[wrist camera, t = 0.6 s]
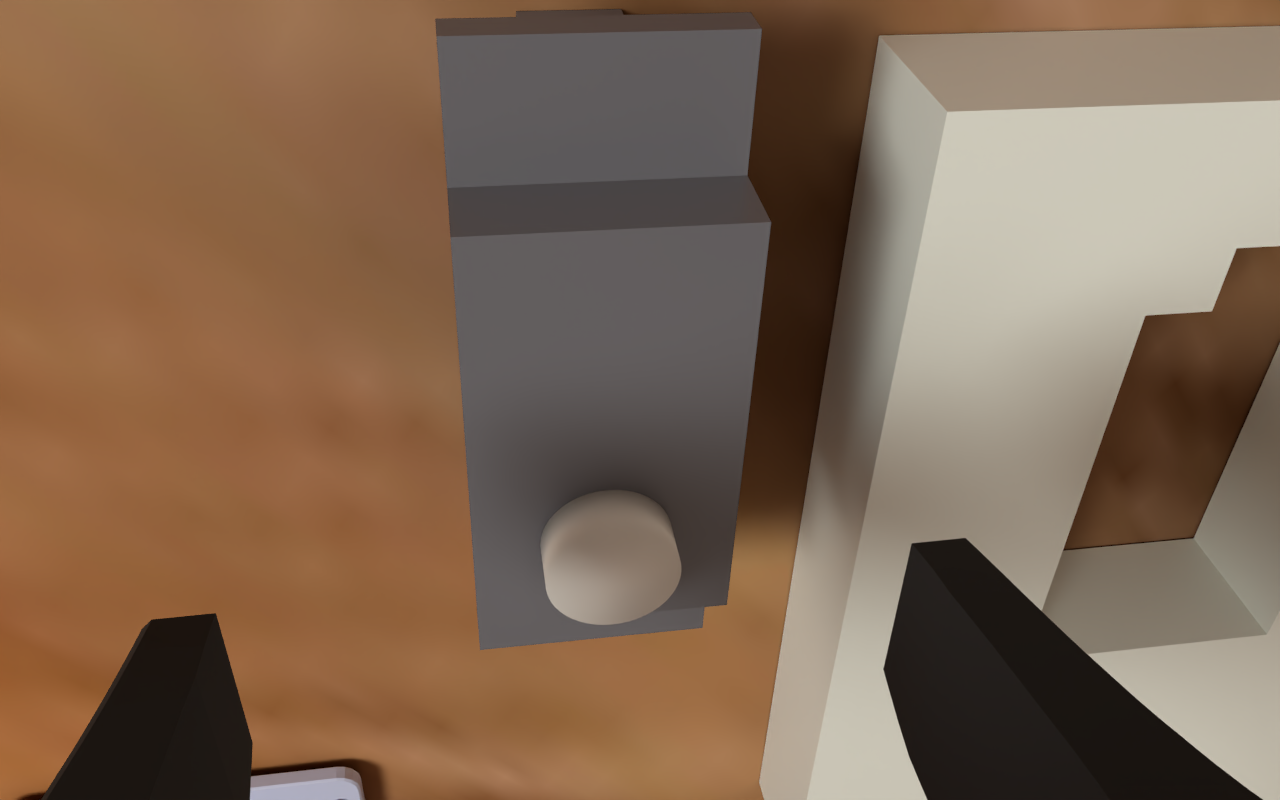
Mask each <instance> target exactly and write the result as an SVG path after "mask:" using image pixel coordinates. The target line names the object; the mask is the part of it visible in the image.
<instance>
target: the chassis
mask: <svg viewBox="0 0 1280 800" xmlns="http://www.w3.org/2000/svg"><path fill="white" fill-rule="evenodd" d="M1269 246H1280V26H1254V27H1212V28H1170V29H1128V30H1087V31H1045V32H1003V33H961V34H919V35H879V40H878V46H877V52H876V58H875V65H874V71H873V77H872V83H871V89H870V96H869V102H868V108H867V114H866V121H865V127H864V133H863V139H862V145H861V152H860V158H859V164H858V170H857V177H856V183H855V189H854V195H853V201H852V208H851V214H850V220H849V226H848V233H847V239H846V245H845V251H844V258H843V264H842V270H841V276H840V282H839V289H838V295H837V301H836V307H835V314H834V320H833V326H832V332H831V338H830V345H829V351H828V357H827V363H826V370H825V376H824V382H823V388H822V395H821V401H820V407H819V413H818V419H817V426H816V432H815V438H814V444H813V451H812V457H811V463H810V469H809V475H808V482H807V488H806V494H805V500H804V507H803V513H802V519H801V525H800V531H799V538H798V544H797V550H796V556H795V563H794V569H793V575H792V581H791V588H790V594H789V600H788V606H787V612H786V619H785V625H784V631H783V637H782V644H781V650H780V656H779V662H778V668H777V675H776V681H775V687H774V693H773V700H772V706H771V712H770V718H769V724H768V731H767V737H766V743H765V749H764V756H763V762H762V768H761V774H760V781H759V783H760V787H761V791H762V794H763V798H764V800H927V798H926V796H925V793H924V791H923V789H922V786H921V784H920V782H919V779H918V777H917V775H916V772H915V770H914V767H913V765H912V763H911V760H910V758H909V755H908V752H907V749H906V745H905V742H904V739H903V736H902V732H901V729H900V726H899V723H898V720H897V716H896V713H895V709H894V706H893V702H892V699H891V695H890V692H889V688H888V685H887V681H886V677H885V674H884V670H883V668H884V664H885V659H886V655H887V651H888V646H889V642H890V637H891V633H892V628H893V624H894V620H895V615H896V611H897V606H898V602H899V597H900V593H901V588H902V584H903V580H904V575H905V571H906V566H907V562H908V557H909V553H910V548H911V544H912V543H920V542H930V541H939V540H949V539H959V538H966V539H967V540H968V541H969V542H970V543H971V544H973V545H974V546H975V547H976V548H977V549H978V550H979V551H980V552H981V553H982V554H983V555H984V556H985V557H986V558H987V559H988V560H989V561H990V562H991V563H992V564H993V565H994V566H995V567H997V568H998V569H999V570H1000V571H1001V572H1002V573H1003V574H1004V575H1005V576H1006V577H1007V578H1008V579H1009V580H1010V581H1011V582H1012V583H1013V584H1014V585H1015V586H1016V587H1017V588H1018V589H1019V590H1020V591H1021V592H1022V593H1023V594H1024V595H1025V596H1026V597H1028V598H1029V599H1030V600H1031V601H1032V602H1033V603H1034V604H1035V605H1036V606H1037V607H1038V608H1039V609H1040V610H1041V611H1042V612H1043V613H1044V614H1045V615H1046V616H1047V617H1048V618H1049V619H1050V620H1051V621H1053V622H1054V623H1055V624H1056V625H1057V626H1058V627H1059V628H1060V629H1061V630H1062V631H1063V632H1064V633H1065V634H1066V635H1067V636H1068V637H1069V638H1070V639H1071V640H1073V641H1074V642H1075V643H1076V644H1077V645H1078V646H1079V647H1080V648H1081V649H1082V650H1083V651H1084V652H1085V653H1086V654H1088V655H1089V656H1090V657H1091V658H1092V659H1093V660H1094V661H1095V662H1096V663H1098V664H1099V665H1100V666H1101V667H1102V668H1103V669H1104V670H1105V671H1106V672H1108V673H1109V674H1110V675H1111V676H1112V677H1113V678H1114V679H1115V680H1116V681H1117V682H1119V683H1120V684H1121V685H1122V686H1123V687H1124V688H1125V689H1126V690H1127V691H1129V692H1130V693H1131V694H1132V695H1133V696H1134V697H1135V698H1136V699H1138V700H1139V701H1140V702H1141V703H1142V704H1143V705H1144V706H1146V707H1147V708H1148V709H1149V710H1150V711H1151V712H1153V713H1154V714H1155V715H1156V716H1157V717H1158V718H1160V719H1161V720H1162V721H1163V722H1165V723H1166V724H1167V725H1168V726H1169V727H1171V728H1172V729H1173V730H1174V731H1175V732H1177V733H1178V734H1179V735H1180V736H1182V737H1183V738H1184V739H1185V740H1186V741H1188V742H1189V743H1190V744H1191V745H1193V746H1194V747H1195V748H1196V749H1197V750H1199V751H1200V752H1201V753H1202V754H1204V755H1205V756H1206V757H1207V758H1208V759H1210V760H1211V761H1212V762H1214V763H1215V764H1216V765H1217V766H1219V767H1220V768H1221V769H1223V770H1224V771H1225V772H1226V773H1228V774H1229V775H1230V776H1232V777H1233V778H1234V779H1236V780H1237V781H1238V782H1239V783H1241V784H1242V785H1243V786H1245V787H1246V788H1248V789H1249V790H1250V791H1252V792H1253V793H1254V794H1256V795H1257V796H1259V797H1260V798H1261V799H1263V800H1280V344H1279V346H1278V348H1277V351H1276V353H1275V355H1274V357H1273V360H1272V362H1271V364H1270V367H1269V369H1268V371H1267V373H1266V376H1265V378H1264V380H1263V382H1262V385H1261V387H1260V389H1259V391H1258V394H1257V396H1256V398H1255V401H1254V403H1253V405H1252V407H1251V410H1250V412H1249V414H1248V416H1247V419H1246V421H1245V423H1244V425H1243V428H1242V430H1241V432H1240V435H1239V437H1238V439H1237V441H1236V444H1235V446H1234V448H1233V450H1232V453H1231V455H1230V457H1229V459H1228V462H1227V464H1226V466H1225V469H1224V471H1223V473H1222V475H1221V478H1220V480H1219V482H1218V484H1217V487H1216V489H1215V491H1214V493H1213V496H1212V498H1211V500H1210V502H1209V505H1208V507H1207V509H1206V512H1205V514H1204V516H1203V518H1202V521H1201V523H1200V525H1199V527H1198V530H1197V532H1196V534H1195V536H1194V538H1192V539H1182V540H1171V541H1160V542H1150V543H1139V544H1129V545H1118V546H1107V547H1097V548H1086V549H1075V550H1065V551H1063V549H1064V546H1065V543H1066V540H1067V537H1068V535H1069V532H1070V529H1071V526H1072V523H1073V520H1074V517H1075V515H1076V512H1077V509H1078V506H1079V503H1080V500H1081V498H1082V495H1083V492H1084V489H1085V486H1086V483H1087V480H1088V478H1089V475H1090V472H1091V469H1092V466H1093V463H1094V461H1095V458H1096V455H1097V452H1098V449H1099V446H1100V443H1101V441H1102V438H1103V435H1104V432H1105V429H1106V426H1107V424H1108V421H1109V418H1110V415H1111V412H1112V409H1113V406H1114V404H1115V401H1116V398H1117V395H1118V392H1119V389H1120V387H1121V384H1122V381H1123V378H1124V375H1125V372H1126V369H1127V367H1128V364H1129V361H1130V358H1131V355H1132V352H1133V350H1134V347H1135V344H1136V341H1137V338H1138V335H1139V333H1140V330H1141V327H1142V324H1143V321H1144V318H1145V316H1146V315H1162V314H1178V313H1194V312H1210V311H1212V310H1213V308H1214V305H1215V302H1216V300H1217V297H1218V295H1219V292H1220V290H1221V287H1222V285H1223V282H1224V279H1225V277H1226V274H1227V272H1228V269H1229V267H1230V264H1231V262H1232V259H1233V256H1234V254H1235V251H1236V249H1237V248H1251V247H1269Z"/></svg>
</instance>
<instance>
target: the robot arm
mask: <svg viewBox="0 0 1280 800" xmlns="http://www.w3.org/2000/svg"><path fill="white" fill-rule="evenodd" d="M883 670H884V674H885V677H886V681H887V685H888V688H889V692H890V695H891V699H892V702H893V706H894V709H895V713H896V716H897V720H898V723H899V726H900V729H901V732H902V736H903V739H904V742H905V745H906V749H907V752H908V755H909V758H910V760H911V763H912V765H913V767H914V770H915V772H916V775H917V777H918V779H919V782H920V784H921V786H922V789H923V791H924V793H925V796H926V798H927V800H1263V799H1261V798H1260V797H1259V796H1257V795H1256V794H1254V793H1253V792H1252V791H1250V790H1249V789H1248V788H1246V787H1245V786H1243V785H1242V784H1241V783H1239V782H1238V781H1237V780H1236V779H1234V778H1233V777H1232V776H1230V775H1229V774H1228V773H1226V772H1225V771H1224V770H1223V769H1221V768H1220V767H1219V766H1217V765H1216V764H1215V763H1214V762H1212V761H1211V760H1210V759H1208V758H1207V757H1206V756H1205V755H1204V754H1202V753H1201V752H1200V751H1199V750H1197V749H1196V748H1195V747H1194V746H1193V745H1191V744H1190V743H1189V742H1188V741H1186V740H1185V739H1184V738H1183V737H1182V736H1180V735H1179V734H1178V733H1177V732H1175V731H1174V730H1173V729H1172V728H1171V727H1169V726H1168V725H1167V724H1166V723H1165V722H1163V721H1162V720H1161V719H1160V718H1158V717H1157V716H1156V715H1155V714H1154V713H1153V712H1151V711H1150V710H1149V709H1148V708H1147V707H1146V706H1144V705H1143V704H1142V703H1141V702H1140V701H1139V700H1138V699H1136V698H1135V697H1134V696H1133V695H1132V694H1131V693H1130V692H1129V691H1127V690H1126V689H1125V688H1124V687H1123V686H1122V685H1121V684H1120V683H1119V682H1117V681H1116V680H1115V679H1114V678H1113V677H1112V676H1111V675H1110V674H1109V673H1108V672H1106V671H1105V670H1104V669H1103V668H1102V667H1101V666H1100V665H1099V664H1098V663H1096V662H1095V661H1094V660H1093V659H1092V658H1091V657H1090V656H1089V655H1088V654H1086V653H1085V652H1084V651H1083V650H1082V649H1081V648H1080V647H1079V646H1078V645H1077V644H1076V643H1075V642H1074V641H1073V640H1071V639H1070V638H1069V637H1068V636H1067V635H1066V634H1065V633H1064V632H1063V631H1062V630H1061V629H1060V628H1059V627H1058V626H1057V625H1056V624H1055V623H1054V622H1053V621H1051V620H1050V619H1049V618H1048V617H1047V616H1046V615H1045V614H1044V613H1043V612H1042V611H1041V610H1040V609H1039V608H1038V607H1037V606H1036V605H1035V604H1034V603H1033V602H1032V601H1031V600H1030V599H1029V598H1028V597H1026V596H1025V595H1024V594H1023V593H1022V592H1021V591H1020V590H1019V589H1018V588H1017V587H1016V586H1015V585H1014V584H1013V583H1012V582H1011V581H1010V580H1009V579H1008V578H1007V577H1006V576H1005V575H1004V574H1003V573H1002V572H1001V571H1000V570H999V569H998V568H997V567H995V566H994V565H993V564H992V563H991V562H990V561H989V560H988V559H987V558H986V557H985V556H984V555H983V554H982V553H981V552H980V551H979V550H978V549H977V548H976V547H975V546H974V545H973V544H971V543H970V542H969V541H968V540H967V539H966V538H959V539H949V540H939V541H930V542H920V543H912V544H911V548H910V553H909V557H908V562H907V566H906V571H905V575H904V580H903V584H902V588H901V593H900V597H899V602H898V606H897V611H896V615H895V620H894V624H893V628H892V633H891V637H890V642H889V646H888V651H887V655H886V659H885V664H884V668H883ZM251 764H252V740H251V736H250V733H249V729H248V725H247V722H246V718H245V715H244V711H243V708H242V704H241V701H240V697H239V694H238V690H237V687H236V683H235V680H234V676H233V673H232V669H231V665H230V662H229V658H228V655H227V651H226V648H225V644H224V641H223V637H222V634H221V630H220V627H219V623H218V620H217V616H216V613H214V614H204V615H194V616H184V617H174V618H165V619H155V620H151V621H150V622H149V623H148V624H147V625H146V626H145V627H144V628H143V629H142V630H141V632H140V634H139V636H138V638H137V639H136V641H135V643H134V645H133V647H132V649H131V651H130V653H129V654H128V656H127V658H126V660H125V662H124V663H123V665H122V667H121V669H120V671H119V672H118V674H117V676H116V678H115V680H114V681H113V683H112V685H111V687H110V688H109V690H108V692H107V694H106V695H105V697H104V699H103V700H102V702H101V704H100V706H99V707H98V709H97V711H96V712H95V714H94V716H93V717H92V719H91V721H90V722H89V724H88V726H87V727H86V729H85V731H84V732H83V734H82V736H81V737H80V739H79V741H78V742H77V744H76V746H75V747H74V749H73V751H72V752H71V754H70V755H69V757H68V758H67V760H66V762H65V763H64V765H63V766H62V768H61V769H60V771H59V772H58V774H57V776H56V777H55V779H54V780H53V782H52V783H51V785H50V787H49V788H48V790H47V791H46V793H45V794H44V796H43V798H42V799H41V800H365V798H364V792H363V787H362V781H361V777H360V775H359V773H358V772H356V771H355V770H353V769H352V768H348V767H329V768H320V769H311V770H302V771H293V772H284V773H275V774H267V775H258V776H251Z"/></svg>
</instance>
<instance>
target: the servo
mask: <svg viewBox="0 0 1280 800" xmlns="http://www.w3.org/2000/svg"><path fill="white" fill-rule="evenodd" d="M761 34H762V28H761V27H760V25H759V24H758V22H757V21H756V19H755V18H754V16H753V15H752V13H751V12H744V13H695V14H647V15H623V13H622V10H621V9H606V10H556V11H516V17H500V18H451V19H436V35H437V49H438V63H439V77H440V91H441V105H442V119H443V133H444V147H445V162H446V176H447V190H448V205H449V220H450V235H451V249H452V263H453V277H454V292H455V306H456V320H457V334H458V348H459V362H460V376H461V390H462V404H463V418H464V432H465V446H466V460H467V474H468V488H469V502H470V516H471V531H472V545H473V559H474V573H475V587H476V601H477V615H478V629H479V640H480V650H484V649H494V648H504V647H514V646H524V645H534V644H544V643H554V642H564V641H574V640H584V639H594V638H604V637H614V636H624V635H634V634H644V633H655V632H665V631H675V630H685V629H695V628H702V626H703V616H704V607H708V606H719V605H727V598H728V590H729V581H730V572H731V564H732V555H733V547H734V538H735V529H736V521H737V512H738V504H739V495H740V486H741V478H742V469H743V461H744V452H745V443H746V435H747V426H748V417H749V409H750V400H751V392H752V383H753V374H754V366H755V357H756V349H757V340H758V331H759V323H760V314H761V306H762V297H763V288H764V280H765V271H766V263H767V254H768V245H769V237H770V228H771V221H770V219H769V217H768V215H767V213H766V211H765V209H764V207H763V205H762V203H761V201H760V199H759V197H758V195H757V193H756V191H755V189H754V187H753V185H752V183H751V181H750V179H749V177H748V176H747V175H748V165H749V155H750V145H751V135H752V124H753V114H754V104H755V94H756V84H757V74H758V64H759V54H760V44H761Z"/></svg>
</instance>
